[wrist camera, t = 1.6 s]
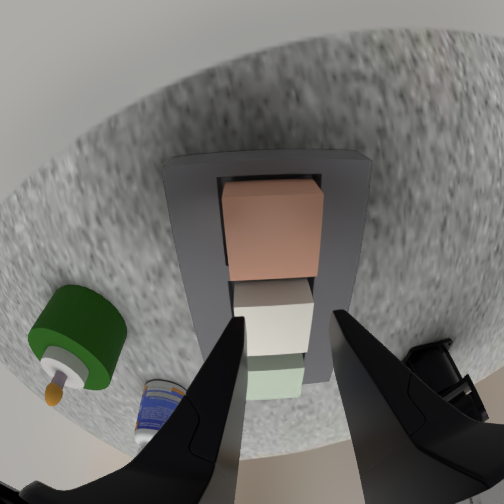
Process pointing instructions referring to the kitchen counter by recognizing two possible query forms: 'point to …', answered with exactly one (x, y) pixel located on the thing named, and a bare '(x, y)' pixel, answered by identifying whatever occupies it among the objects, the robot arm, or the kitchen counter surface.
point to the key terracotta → (272, 228)
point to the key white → (275, 315)
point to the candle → (77, 340)
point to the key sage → (275, 376)
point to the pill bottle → (156, 409)
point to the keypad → (214, 240)
